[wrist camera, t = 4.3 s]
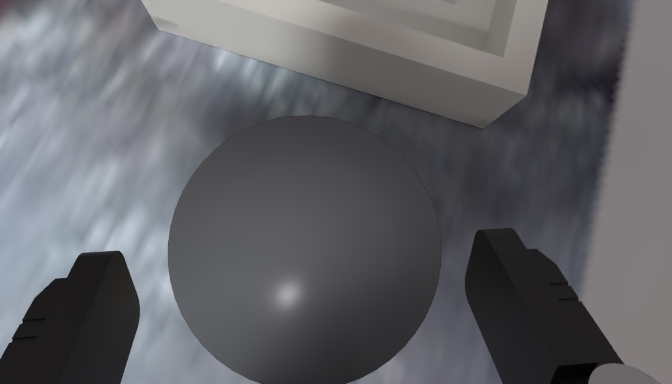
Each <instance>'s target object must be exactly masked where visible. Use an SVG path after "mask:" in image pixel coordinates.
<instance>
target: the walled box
mask: <svg viewBox="0 0 672 384" xmlns="http://www.w3.org/2000/svg"><path fill="white" fill-rule="evenodd" d="M141 1H142V2H143V4H144V6H145V7H146V9H147V11H148V12H149V14H150V16H151V18H152V19H153V21H154V23H155V24H156V26H157V28H158V29H159V30H162V31H165V32H168V33H171V34H175V35H178V36H181V37H185V38H188V39H191V40H194V41H198V42H201V43H204V44H207V45H211V46H214V47H217V48H221V49H224V50H227V51H230V52H234V53H237V54H240V55H243V56H247V57H250V58H253V59H257V60H260V61H263V62H266V63H270V64H273V65H276V66H279V67H283V68H286V69H289V70H293V71H296V72H299V73H302V74H306V75H309V76H312V77H315V78H319V79H322V80H325V81H329V82H332V83H335V84H338V85H342V86H345V87H348V88H351V89H355V90H358V91H361V92H365V93H368V94H371V95H374V96H378V97H381V98H384V99H387V100H391V101H394V102H397V103H401V104H404V105H407V106H410V107H414V108H417V109H420V110H423V111H427V112H430V113H433V114H437V115H440V116H443V117H446V118H450V119H453V120H456V121H459V122H463V123H466V124H469V125H473V126H476V127H479V128H482V129H484V128H485V127H487V126H488V125H489V124H490V123H492V122H493V121H494V120H496V119H497V118H498V117H500V116H501V115H502V114H503V113H505V112H506V111H507V110H509V109H510V108H511V107H513V106H514V105H515V104H516V103H518V102H519V101H520V100H522V99H523V98H524V97H526V96H527V92H528V88H529V84H530V79H531V75H532V70H533V66H534V61H535V57H536V52H537V48H538V44H539V39H540V35H541V30H542V26H543V21H544V17H545V13H546V8H547V4H548V0H141Z"/></svg>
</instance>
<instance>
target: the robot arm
mask: <svg viewBox="0 0 672 384" xmlns="http://www.w3.org/2000/svg"><path fill="white" fill-rule="evenodd" d="M465 290H466V296H467V300H468V303H469V305H470V307H471V310H472V312H473V314H474V317H475V319H476V322H477V324H478V326H479V329H480V331H481V333H482V336H483V338H484V340H485V343H486V345H487V347H488V350H489V352H490V354H491V357H492V359H493V362H494V364H495V366H496V369H497V371H498V373H499V376H500V378H501V380H502V383H503V384H660V383H659V382H658V381H656V380H655V379H654V378H652V377H651V376H649V375H648V374H646V373H644V372H643V371H641V370H638V369H636V368H634V367H631V366H627V365H625V364H624V363H623V362H622V361H621V359H620V358H619V356H618V355H617V354H616V352H615V351H614V349H613V348H612V346H611V345H610V343H609V342H608V340H607V339H606V337H605V336H604V334H603V333H602V332H601V330H600V329H599V327H598V326H597V324H596V323H595V321H594V320H593V318H592V317H591V315H590V314H589V312H588V311H587V309H586V308H585V306H584V305H583V303H582V302H579V300H578V296H577V295H576V293H575V292H574V290H573V289H572V287H571V286H568V281H567V280H566V279H565V277H564V276H563V274H562V273H561V271H560V270H559V268H558V267H557V265H556V264H555V263H554V262H552V261H551V260H550V259H549V258H547V257H546V256H545V255H544V254H542V253H541V252H540V251H538V250H537V249H526V247H525V246H524V244H523V243H522V241H521V239H520V238H519V236H518V235H517V233H516V232H515V231H514V230H513V229H512V228H502V229H485V230H478V231H477V232H476V234H475V237H474V242H473V246H472V250H471V254H470V259H469V263H468V267H467V272H466V276H465ZM139 317H140V305H139V299H138V295H137V292H136V290H135V287H134V284H133V281H132V278H131V276H130V273H129V270H128V267H127V264H126V262H125V259H124V256H123V254H122V253H121V252H120V251H106V252H89V253H82V254H80V255H79V256H78V258H77V259H76V261H75V263H74V265H73V267H72V269H71V271H70V273H69V275H68V277H67V278H59V279H55V280H53V281H52V282H51V283H50V284H49V285H48V286H47V287H46V288H45V289H44V290H43V291H42V292H41V293H40V294H38V295H37V296H36V297H35V298H34V300H33V302H32V304H31V305H30V307H29V309H28V311H27V313H26V314H25V316H24V318H23V323H22V324H20V325H19V327H18V329H17V330H16V332H15V334H14V336H13V337H12V339H13V340H12V343H9V345H8V346H7V348H6V350H5V352H4V354H3V355H2V357H1V359H0V384H120V383H121V380H122V376H123V373H124V370H125V367H126V363H127V360H128V357H129V354H130V350H131V347H132V344H133V340H134V337H135V334H136V331H137V327H138V324H139Z"/></svg>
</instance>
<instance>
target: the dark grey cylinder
mask: <svg viewBox="0 0 672 384" xmlns="http://www.w3.org/2000/svg"><path fill="white" fill-rule="evenodd" d="M168 267H169V275H170V281H171V285H172V289H173V293H174V296H175V300H176V302H177V304H178V307H179V309H180V311H181V314H182V316H183V318H184V319H185V321H186V323H187V325H188V326H189V328H190V330H191V331H192V333H193V334H194V335H195V336H196V338H197V339H198V340H199V342H200V343H201V344H202V345H203V347H205V348H206V349H207V350H208V351H209V352H210V353H211V354H212V355H213V356H214V357H215V358H216V359H217V360H218V361H220V362H221V363H223V364H224V365H225V366H227V367H228V368H230V369H231V370H232V371H234V372H236V373H238V374H240V375H242V376H244V377H246V378H248V379H250V380H253V381H255V382H258V383H261V384H346V383H349V382H352V381H355V380H357V379H360V378H362V377H364V376H366V375H367V374H369V373H371V372H373V371H375V370H377V369H378V368H379V367H381V366H382V365H384V364H385V363H386V362H388V361H389V360H391V359H392V358H393V357H394V356H395V355H396V354H397V353H398V352H399V351H400V350H401V349H402V348H403V347H404V346H405V345H406V344H407V343H408V341H409V340H410V339H411V338H412V337H413V335H414V334H415V333H416V331H417V330H418V328H419V327H420V325H421V323H422V322H423V320H424V318H425V317H426V314H427V312H428V310H429V308H430V306H431V303H432V301H433V298H434V295H435V291H436V288H437V285H438V280H439V274H440V268H441V238H440V229H439V225H438V220H437V216H436V212H435V209H434V207H433V204H432V201H431V198H430V196H429V194H428V192H427V190H426V188H425V186H424V184H423V182H422V181H421V179H420V178H419V176H418V175H417V173H416V172H415V170H414V169H413V168H412V167H411V165H410V164H409V163H408V162H407V161H406V160H405V159H404V157H403V156H402V155H401V154H400V153H398V152H397V151H396V150H395V149H394V148H393V147H392V146H391V145H389V144H388V143H387V142H385V141H384V140H382V139H381V138H379V137H378V136H376V135H375V134H373V133H371V132H369V131H367V130H365V129H363V128H361V127H359V126H356V125H353V124H351V123H348V122H345V121H341V120H337V119H333V118H329V117H320V116H291V117H284V118H277V119H274V120H270V121H266V122H263V123H260V124H257V125H255V126H253V127H250V128H248V129H245V130H243V131H242V132H240V133H238V134H237V135H235V136H233V137H231V138H230V139H228V140H227V141H226V142H224V143H223V144H222V145H220V146H219V147H218V148H216V149H215V150H214V151H213V152H212V153H211V154H210V155H209V156H208V157H207V158H206V159H205V160H204V161H203V162H202V163H201V165H200V166H199V167H198V169H197V170H196V171H195V172H194V174H193V175H192V176H191V178H190V180H189V181H188V183H187V185H186V187H185V188H184V190H183V192H182V194H181V196H180V199H179V201H178V203H177V206H176V208H175V212H174V215H173V219H172V222H171V227H170V234H169V241H168Z"/></svg>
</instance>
